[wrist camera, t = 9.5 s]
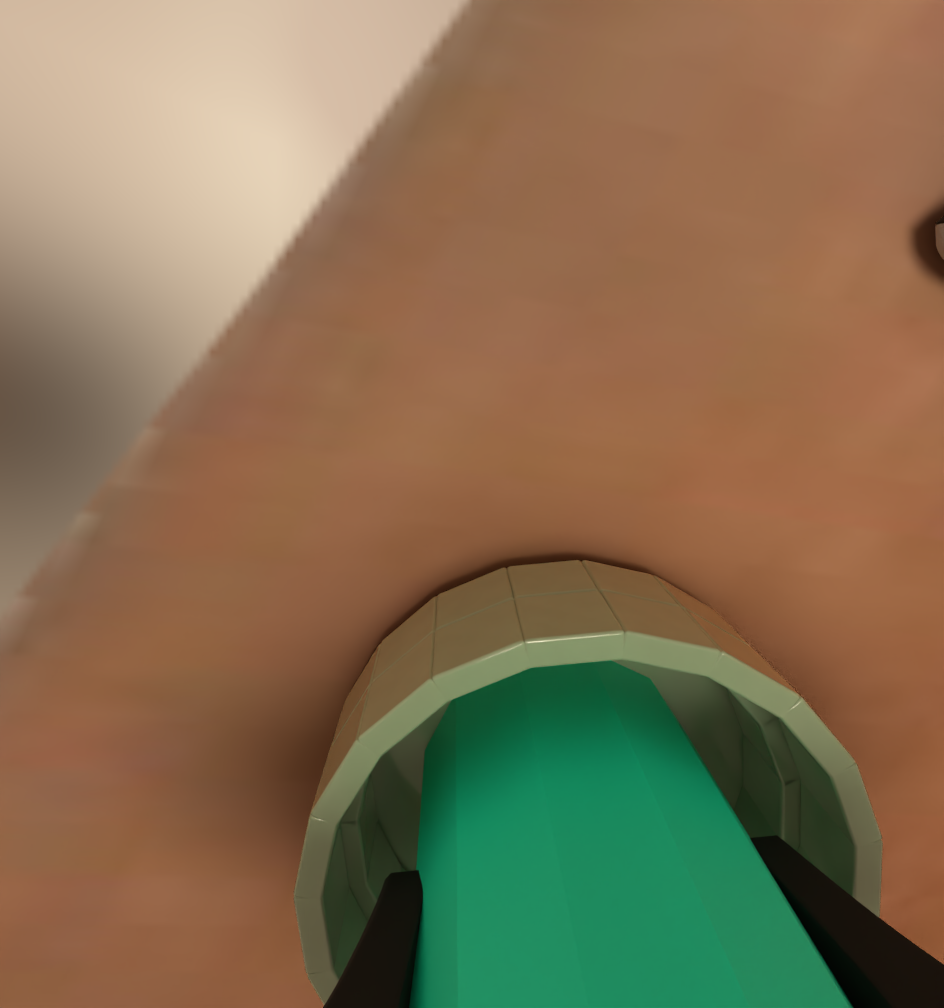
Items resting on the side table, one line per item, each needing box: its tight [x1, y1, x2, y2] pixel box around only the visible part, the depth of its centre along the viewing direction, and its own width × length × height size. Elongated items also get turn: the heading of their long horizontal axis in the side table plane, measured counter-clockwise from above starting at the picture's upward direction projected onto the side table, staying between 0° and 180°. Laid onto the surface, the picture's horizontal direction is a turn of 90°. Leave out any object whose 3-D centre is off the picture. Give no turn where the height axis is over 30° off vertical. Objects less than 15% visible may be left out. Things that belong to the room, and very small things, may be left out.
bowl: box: [294, 560, 883, 1005], centre depth 14 cm, size 10×10×4 cm
